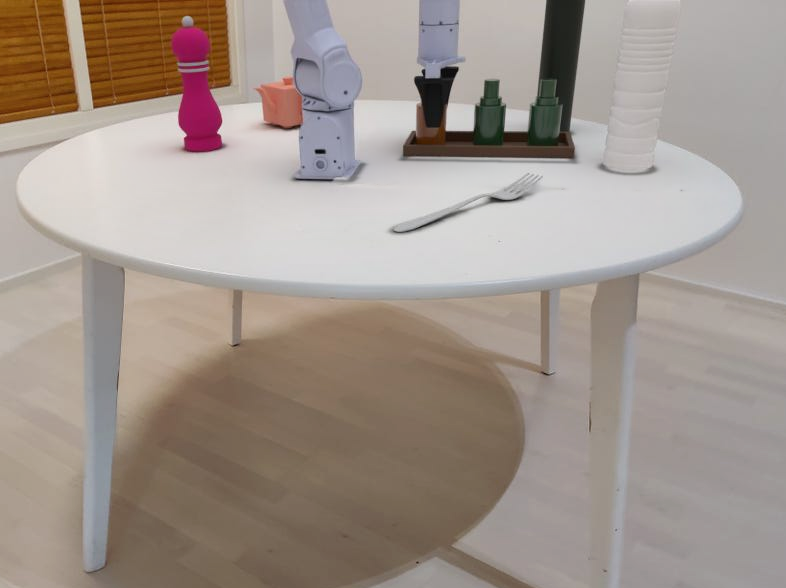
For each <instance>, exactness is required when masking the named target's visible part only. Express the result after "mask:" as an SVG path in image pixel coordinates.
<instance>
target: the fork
mask: <svg viewBox="0 0 786 588" xmlns="http://www.w3.org/2000/svg"><path fill="white" fill-rule="evenodd" d="M534 175H535V174H534V173H531V174H530V172H527V173H526V174H524V175H523V176H521V177H519V178H518V179H517V180H515V181H513V182H512V183H510V184H509V185H508V186H506V187H504V188H502V189H500V190H498V191H496V192H494V193H491V194H490V193H482V194H478V195H476V196H473V197H470V198H468V199H466V200H464V201H461V202H458V203H456V204H454V205H451V206H448V207H444V208H443V209H440V210H437V211H435V212H432V213H429V214H426V215H423V216H420V217H416V218H414V219H412V220H408V221H405V222H402V223H400V224H398V225H396V226H395V227H394V228H393V231H394V232H398V233H405V232H407V231H412V230H415V229H417V228H420V227H422V226H424V225H427V224H429V223H431V222H434V221H436V220H438V219H441V218H443V217H445V216H447V215H449V214H451V213H453V212H456V211H457V210H459V209H461V208H463V207H465V206H467V205H469V204H472V203H473V202H475V201H477V200H481V199H482V198H487V197H488V198H489V197H490V198H495V199H499V200H504V201H512V200H515V199H517V198H519V197H521V196H523V194H525V193H526V192H528V191H529V190H530V189H531V188H532V187H534V186H535V185H536V184H537V183H538V182H540V181H541V180H542V179H543V178H544V175H541V176H540V177H539V174H536V175H535V176H534ZM531 178H532V179H531Z"/></svg>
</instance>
